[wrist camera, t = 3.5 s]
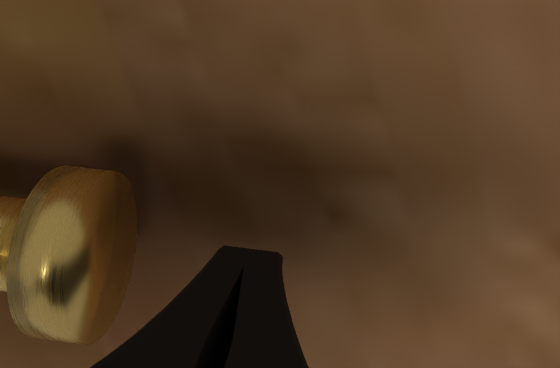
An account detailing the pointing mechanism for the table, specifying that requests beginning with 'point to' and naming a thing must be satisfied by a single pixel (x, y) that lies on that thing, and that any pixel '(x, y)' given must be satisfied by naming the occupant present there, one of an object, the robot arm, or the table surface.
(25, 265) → the pin
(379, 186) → the table surface
